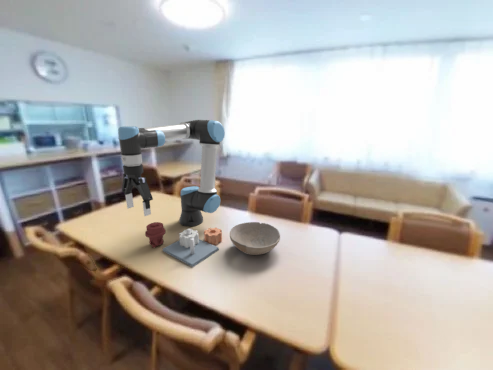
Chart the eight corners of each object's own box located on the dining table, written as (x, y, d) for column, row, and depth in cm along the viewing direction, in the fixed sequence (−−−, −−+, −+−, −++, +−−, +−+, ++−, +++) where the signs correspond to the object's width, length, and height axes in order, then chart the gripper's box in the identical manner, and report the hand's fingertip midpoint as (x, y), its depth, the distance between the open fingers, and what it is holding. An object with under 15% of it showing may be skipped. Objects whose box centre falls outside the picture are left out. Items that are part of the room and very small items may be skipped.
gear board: (189, 237, 135) (188, 222, 133) (218, 250, 123) (218, 233, 121) (162, 251, 121) (161, 234, 118) (192, 267, 109) (191, 249, 106)
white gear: (187, 236, 133) (187, 227, 131) (202, 240, 129) (201, 231, 127) (176, 244, 124) (175, 235, 123) (191, 249, 120) (190, 239, 119)
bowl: (285, 243, 131) (286, 227, 128) (269, 270, 108) (270, 251, 105) (243, 233, 141) (243, 217, 138) (219, 256, 118) (219, 238, 115)
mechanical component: (170, 241, 131) (160, 250, 121) (153, 238, 133) (142, 248, 123) (168, 220, 127) (158, 229, 118) (151, 218, 129) (140, 226, 120)
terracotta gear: (212, 234, 139) (212, 226, 137) (225, 239, 134) (225, 230, 132) (200, 241, 131) (200, 232, 130) (213, 246, 126) (213, 237, 124)
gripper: (108, 161, 103) (116, 207, 109) (141, 170, 89) (147, 221, 95) (125, 159, 109) (131, 202, 115) (158, 167, 95) (163, 215, 101)
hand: (138, 211), depth 105 cm, fingers open, 13 cm apart
